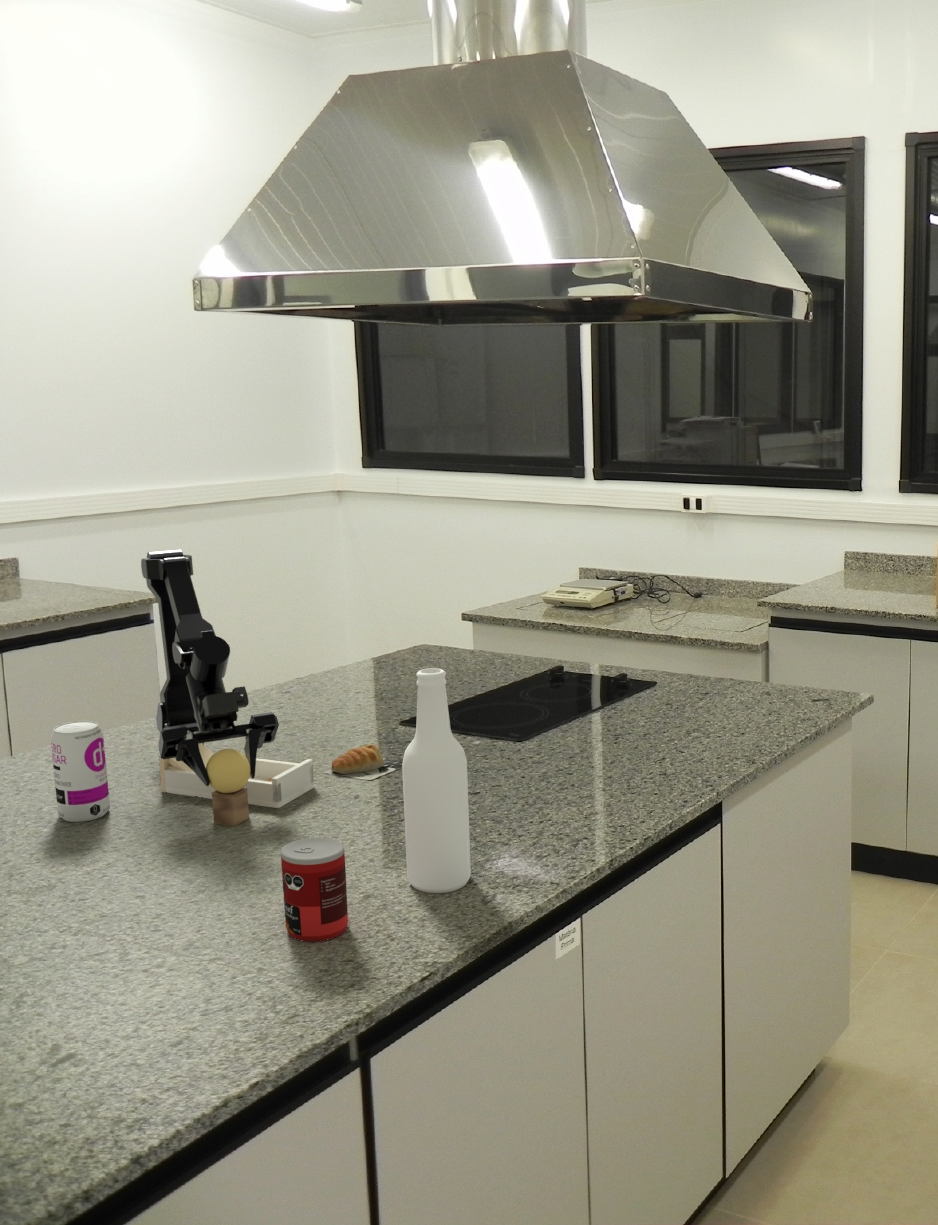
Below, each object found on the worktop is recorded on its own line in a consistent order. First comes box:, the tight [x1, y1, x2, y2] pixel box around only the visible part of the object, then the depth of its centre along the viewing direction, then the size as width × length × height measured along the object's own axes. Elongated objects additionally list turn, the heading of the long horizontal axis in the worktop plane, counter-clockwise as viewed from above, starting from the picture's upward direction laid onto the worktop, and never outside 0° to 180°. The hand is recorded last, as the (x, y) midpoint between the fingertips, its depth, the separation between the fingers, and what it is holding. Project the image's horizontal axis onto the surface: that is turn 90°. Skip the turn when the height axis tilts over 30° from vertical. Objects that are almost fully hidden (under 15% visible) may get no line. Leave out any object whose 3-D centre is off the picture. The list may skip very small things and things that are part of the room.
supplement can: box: [50, 720, 111, 823], centre depth 199 cm, size 8×8×15 cm
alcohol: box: [401, 667, 472, 894], centre depth 166 cm, size 9×9×30 cm
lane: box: [158, 743, 315, 809], centre depth 210 cm, size 24×11×6 cm, turn 65°
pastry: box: [330, 743, 385, 775], centre depth 220 cm, size 9×7×4 cm
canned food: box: [280, 837, 349, 943], centre depth 154 cm, size 8×8×11 cm
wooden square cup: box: [211, 787, 250, 827], centre depth 195 cm, size 4×4×5 cm
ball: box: [206, 748, 250, 793], centre depth 194 cm, size 7×7×7 cm
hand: (230, 781), depth 193 cm, fingers closed on ball, 7 cm apart
